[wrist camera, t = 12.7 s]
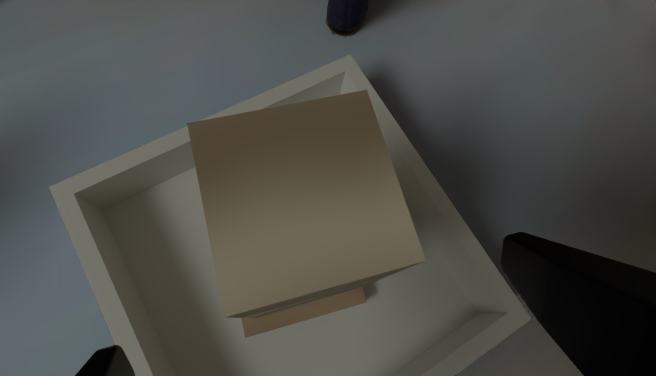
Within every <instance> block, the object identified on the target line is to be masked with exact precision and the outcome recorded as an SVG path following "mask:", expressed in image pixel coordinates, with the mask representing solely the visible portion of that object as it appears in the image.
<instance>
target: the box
mask: <svg viewBox="0 0 656 376" xmlns="http://www.w3.org/2000/svg"><path fill="white" fill-rule="evenodd" d="M362 90H367V91H368V94H369V97H370V100H371V103H372V106H373V109H374V112H375V115H376V117H377V120H378V123H379V126H380V129H381V132H382V135H383V138H384V141H385V144H386V146H387V149H388V152H389V155H390V158H391V161H392V164H393V167H394V170H395V173H396V175H397V178H398V181H399V184H400V187H401V190H402V193H403V196H404V199H405V202H406V204H407V207H408V210H409V213H410V216H411V219H412V222H413V225H414V228H415V231H416V233H417V236H418V239H419V242H420V245H421V248H422V251H423V254H424V257H425V260H426V261H424V262H422V263H419V264H417V265H414V266H412V267H410V268H407V269H405V270H402V271H400V272H397V273H395V274H392V275H390V276H387V277H385V278H383V279H380V280H378V281H375V282H373V283H370V284H368V285H365V286H363V291H364V294H365V298H366V301H367V302H366V303H363V304H359V305H356V306H353V307H349V308H346V309H342V310H339V311H336V312H332V313H329V314H325V315H322V316H319V317H315V318H312V319H308V320H305V321H302V322H298V323H295V324H291V325H288V326H284V327H281V328H278V329H274V330H271V331H267V332H264V333H261V334H257V335H254V336H250V337H247V338H245V334H244V329H243V324H242V320H241V318H227V317H224V313H223V308H222V303H221V298H220V293H219V287H218V282H217V277H216V272H215V266H214V261H213V256H212V251H211V246H210V240H209V235H208V230H207V225H206V219H205V214H204V209H203V204H202V198H201V193H200V188H199V183H198V178H197V172H196V167H195V162H194V157H193V151H192V146H191V141H190V136H189V131H188V126H186V127H184V128H182V129H179V130H177V131H175V132H172V133H170V134H168V135H166V136H163V137H161V138H159V139H157V140H154V141H152V142H150V143H147V144H145V145H143V146H141V147H138V148H136V149H134V150H132V151H129V152H127V153H125V154H122V155H120V156H118V157H116V158H113V159H111V160H109V161H107V162H104V163H102V164H100V165H97V166H95V167H93V168H91V169H88V170H86V171H84V172H82V173H79V174H77V175H75V176H72V177H70V178H68V179H66V180H63V181H61V182H59V183H56V184H54V185H52V186H50V187H49V188H50V191H51V193H52V196H53V198H54V200H55V203H56V205H57V207H58V210H59V212H60V215H61V217H62V219H63V222H64V224H65V226H66V229H67V231H68V233H69V236H70V238H71V241H72V243H73V245H74V248H75V250H76V252H77V255H78V257H79V260H80V262H81V264H82V267H83V269H84V271H85V274H86V276H87V278H88V281H89V283H90V286H91V288H92V290H93V293H94V295H95V297H96V300H97V302H98V305H99V307H100V309H101V312H102V314H103V316H104V319H105V321H106V323H107V326H108V328H109V331H110V333H111V335H112V338H113V340H114V342H115V345H119V346H121V347H122V349H123V350H124V352H125V354H126V356H127V358H128V360H129V362H130V364H131V366H132V368H133V370H134V373H135V376H455V375H457V374H458V373H459V372H461V371H462V370H464V369H465V368H466V367H468V366H469V365H470V364H472V363H473V362H474V361H476V360H477V359H478V358H480V357H481V356H482V355H484V354H485V353H486V352H488V351H489V350H490V349H492V348H493V347H495V346H496V345H497V344H499V343H500V342H501V341H503V340H504V339H505V338H507V337H508V336H509V335H511V334H512V333H513V332H515V331H516V330H517V329H519V328H520V327H522V326H523V325H524V324H526V323H527V322H528V321H530V320H531V318H530V316H529V315H528V313H527V312H526V310H525V309H524V307H523V306H522V304H521V303H520V301H519V300H518V299H517V297H516V296H515V294H514V293H513V291H512V290H511V288H510V287H509V285H508V284H507V282H506V281H505V280H504V278H503V277H502V275H501V274H500V272H499V271H498V269H497V268H496V266H495V265H494V263H493V262H492V261H491V259H490V258H489V256H488V255H487V253H486V252H485V250H484V249H483V247H482V246H481V244H480V243H479V242H478V240H477V239H476V237H475V236H474V234H473V233H472V231H471V230H470V228H469V227H468V226H467V224H466V223H465V221H464V220H463V218H462V217H461V215H460V214H459V212H458V211H457V209H456V208H455V207H454V205H453V204H452V202H451V201H450V199H449V198H448V196H447V195H446V193H445V192H444V190H443V189H442V188H441V186H440V185H439V183H438V182H437V180H436V179H435V177H434V176H433V174H432V173H431V171H430V170H429V169H428V167H427V166H426V164H425V163H424V161H423V160H422V158H421V157H420V155H419V154H418V152H417V151H416V150H415V148H414V147H413V145H412V144H411V142H410V141H409V139H408V138H407V136H406V135H405V134H404V132H403V131H402V129H401V128H400V126H399V125H398V123H397V122H396V120H395V119H394V117H393V116H392V115H391V113H390V112H389V110H388V109H387V107H386V106H385V104H384V103H383V101H382V100H381V98H380V97H379V96H378V94H377V93H376V91H375V90H374V88H373V87H372V85H371V84H370V82H369V81H368V79H367V78H366V77H365V75H364V74H363V72H362V71H361V69H360V68H359V66H358V65H357V63H356V62H355V60H354V59H353V58H352V56H351V55H348V56H345V57H343V58H341V59H339V60H336V61H334V62H332V63H329V64H327V65H325V66H323V67H320V68H318V69H316V70H314V71H311V72H309V73H307V74H304V75H302V76H300V77H298V78H295V79H293V80H291V81H289V82H286V83H284V84H282V85H279V86H277V87H275V88H273V89H270V90H268V91H266V92H263V93H261V94H259V95H257V96H254V97H252V98H250V99H248V100H245V101H243V102H241V103H238V104H236V105H234V106H232V107H229V108H227V109H225V110H223V111H220V112H218V113H216V114H213V115H211V116H209V117H207V118H204V119H202V120H207V119H213V118H218V117H223V116H229V115H234V114H240V113H245V112H250V111H256V110H261V109H266V108H272V107H277V106H282V105H288V104H293V103H298V102H304V101H309V100H314V99H320V98H325V97H330V96H336V95H341V94H346V93H352V92H357V91H362ZM202 120H200V121H202Z"/></svg>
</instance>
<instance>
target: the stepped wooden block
mask: <svg viewBox="0 0 656 376" xmlns="http://www.w3.org/2000/svg"><path fill="white" fill-rule="evenodd" d="M187 125H188V131H189V136H190V141H191V146H192V151H193V157H194V162H195V167H196V172H197V178H198V183H199V188H200V193H201V198H202V204H203V209H204V214H205V219H206V225H207V230H208V235H209V240H210V246H211V251H212V256H213V261H214V266H215V272H216V277H217V282H218V287H219V293H220V298H221V303H222V308H223V313H224V317H227V318H241V320H242V324H243V329H244V334H245V338H247V337H250V336H254V335H257V334H261V333H264V332H267V331H271V330H274V329H278V328H281V327H284V326H288V325H291V324H295V323H298V322H302V321H305V320H308V319H312V318H315V317H319V316H322V315H325V314H329V313H332V312H336V311H339V310H342V309H346V308H349V307H353V306H356V305H359V304H363V303H366V302H367V301H366V298H365V294H364V291H363V286H365V285H368V284H370V283H373V282H375V281H378V280H380V279H383V278H385V277H387V276H390V275H392V274H395V273H397V272H400V271H402V270H405V269H407V268H410V267H412V266H414V265H417V264H419V263H422V262H424V261H426V260H425V257H424V254H423V251H422V248H421V245H420V242H419V239H418V236H417V233H416V231H415V228H414V225H413V222H412V219H411V216H410V213H409V210H408V207H407V204H406V202H405V199H404V196H403V193H402V190H401V187H400V184H399V181H398V178H397V175H396V173H395V170H394V167H393V164H392V161H391V158H390V155H389V152H388V149H387V146H386V144H385V141H384V138H383V135H382V132H381V129H380V126H379V123H378V120H377V117H376V115H375V112H374V109H373V106H372V103H371V100H370V97H369V94H368V91H367V90H362V91H357V92H352V93H346V94H341V95H336V96H330V97H325V98H320V99H314V100H309V101H304V102H298V103H293V104H288V105H282V106H277V107H272V108H266V109H261V110H256V111H250V112H245V113H240V114H234V115H229V116H223V117H218V118H213V119H207V120H202V121H197V122H191V123H187Z"/></svg>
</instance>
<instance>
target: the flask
mask: <svg viewBox="0 0 656 376" xmlns="http://www.w3.org/2000/svg"><path fill="white" fill-rule="evenodd" d="M368 4H369V0H329V2H328V7H327V18H326V23H327V25H328V27H329V29H330V30H331V31H332V34H338V35H340V36H345V37H346V36H350V35H354V34H355V33H356V32H357V31H358V30H359V27H360V26H361V25H362V23H363V21H364V19H365V14H366V12H367V10H368Z"/></svg>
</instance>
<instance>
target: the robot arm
mask: <svg viewBox="0 0 656 376" xmlns="http://www.w3.org/2000/svg"><path fill="white" fill-rule="evenodd" d="M501 266H502V269H503V271H504V273H505V274H506V276H507V277H508V278H509V280H510V281H511V283H512V284H513V286H514V287H515V289H516V290H517V291H518V293H519V294H520V296H521V297H522V299H523V300H524V302H525V303H526V304H527V306H528V307H529V309H530V310H531V312H532V313H533V315H534V316H535V317H536V319H537V320H538V321H539V323H540V324H541V325H542V326H543V328H544V329H545V330H546V331H547V333H548V334H549V335H550V336H551V337H552V339H553V340H554V341H555V342H556V343H557V344H558V346H559V347H560V348H561V349H562V350H563V352H564V353H565V354H566V355H567V356H568V357H569V359H570V360H571V361H572V362H573V363H574V365H575V366H576V367H577V368H578V369H579V370H580V372H581V373H582V374H583V375H584V376H656V273H654V272H651V271H648V270H644V269H641V268H638V267H635V266H631V265H628V264H625V263H622V262H618V261H615V260H612V259H609V258H605V257H602V256H599V255H596V254H592V253H589V252H586V251H582V250H579V249H576V248H573V247H569V246H566V245H563V244H560V243H556V242H553V241H550V240H547V239H543V238H540V237H537V236H534V235H530V234H527V233H524V232H517V233H514V234H510V235H507V236H506V237H505V238H504V240H503V248H502V256H501ZM75 376H135V373H134V370H133V368H132V366H131V364H130V362H129V360H128V358H127V356H126V354H125V352H124V350H123V349H122V347H121V346H119V345H113V346H110V347H106V348H103V349H100V350H97V351H96V352H95V353H94V354H93V355H92V356H91V358H90V359H89V360H88V361H87V362H86V363H85V365H84V366H83V367H82V368H81V369H80V371H79V372H78V373H77V374H76V375H75Z"/></svg>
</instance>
